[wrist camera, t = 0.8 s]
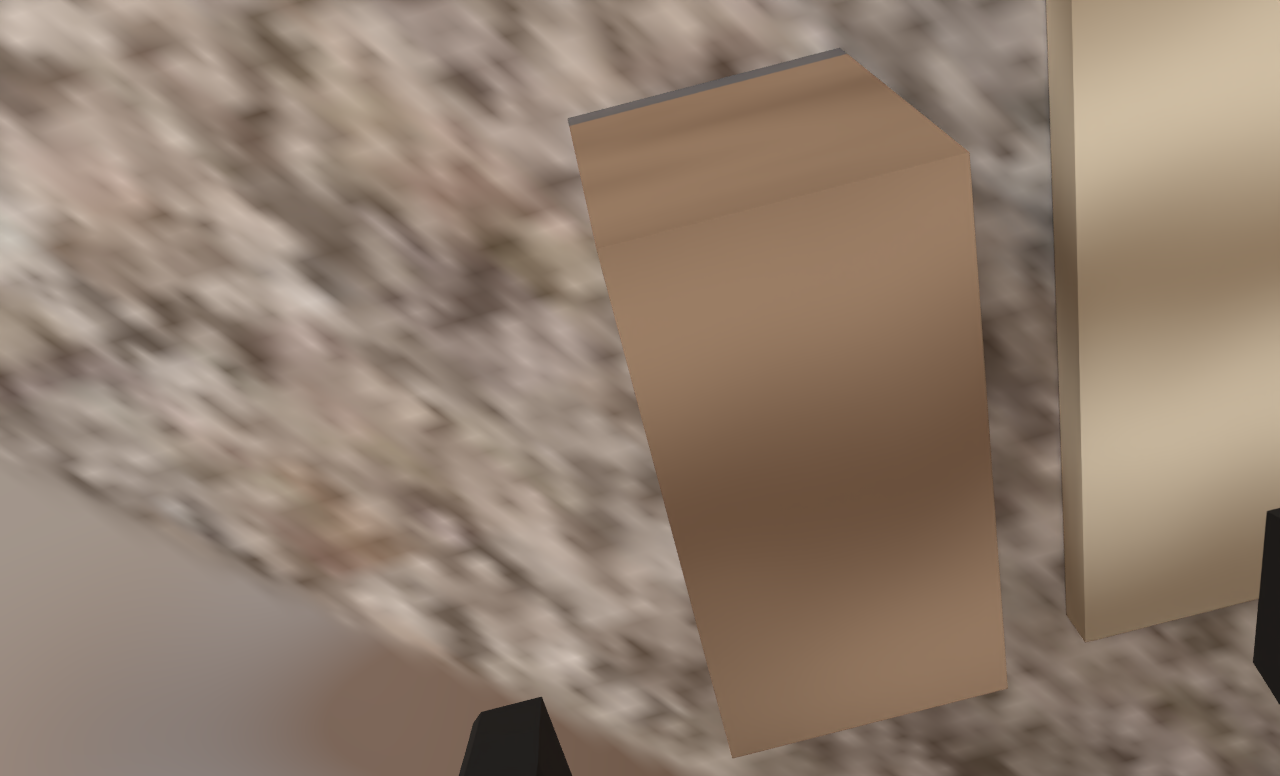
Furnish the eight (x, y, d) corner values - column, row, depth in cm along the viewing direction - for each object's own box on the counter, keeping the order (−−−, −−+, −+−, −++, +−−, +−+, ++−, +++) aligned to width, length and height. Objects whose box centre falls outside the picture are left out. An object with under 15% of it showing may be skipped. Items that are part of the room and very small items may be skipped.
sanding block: (894, 486, 20) (1007, 688, 15) (678, 541, 20) (732, 758, 15) (837, 46, 16) (969, 152, 11) (567, 116, 16) (595, 249, 11)
